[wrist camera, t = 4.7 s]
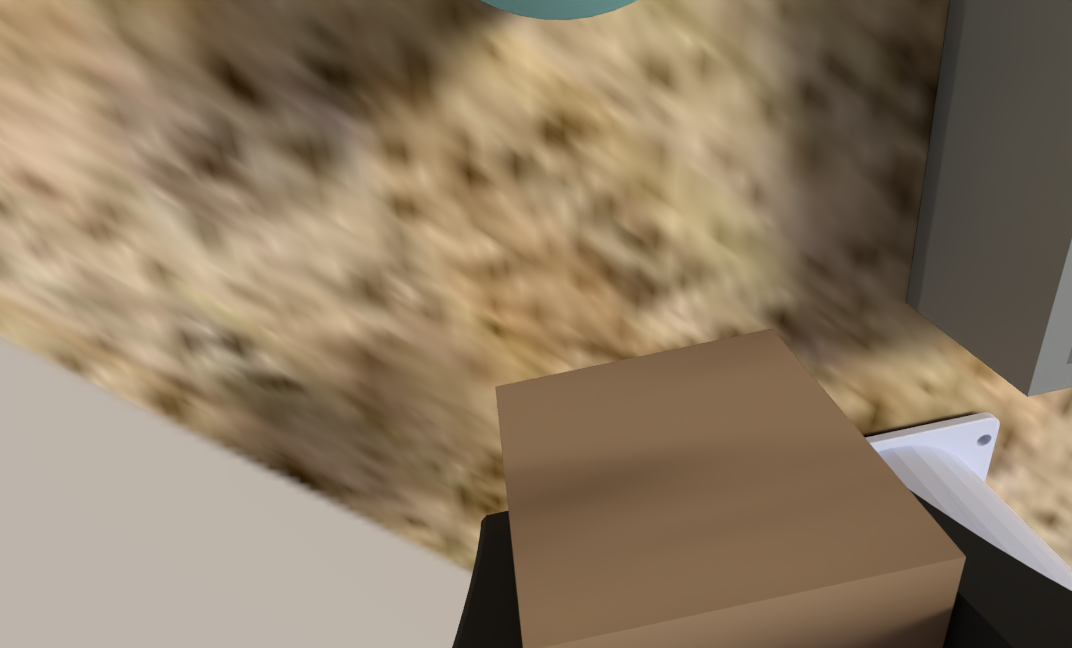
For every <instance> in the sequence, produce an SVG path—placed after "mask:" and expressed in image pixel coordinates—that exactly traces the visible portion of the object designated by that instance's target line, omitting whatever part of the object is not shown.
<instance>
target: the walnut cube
mask: <svg viewBox="0 0 1072 648" xmlns="http://www.w3.org/2000/svg"><path fill="white" fill-rule="evenodd" d="M496 396H497V406H498V415H499V425H500V434H501V444H502V453H503V463H504V472H505V482H506V491H507V501H508V510H509V520H510V529H511V539H512V548H513V558H514V567H515V577H516V586H517V596H518V605H519V615H520V624H521V634H522V643H523V648H943V644H944V640H945V636H946V632H947V629H948V625H949V621H950V617H951V613H952V609H953V605H954V602H955V598H956V594H957V590H958V586H959V582H960V578H961V575H962V571H963V567H964V563H965V559H966V556H965V555H964V554H963V553H962V551H961V550H960V549H959V548H958V547H957V546H956V544H955V543H954V542H953V541H952V540H951V539H950V537H949V536H948V535H947V534H946V533H945V531H944V530H943V529H942V528H941V527H940V526H939V524H938V523H937V522H936V521H935V520H934V519H933V517H932V516H931V515H930V514H929V513H928V511H927V510H926V509H925V508H924V507H923V506H922V504H921V503H920V502H919V501H918V500H917V499H916V497H915V496H914V495H913V494H912V493H911V491H910V490H909V489H908V488H907V487H906V486H905V484H904V483H903V482H902V481H901V480H900V479H899V477H898V476H897V475H896V474H895V473H894V471H893V470H892V469H891V468H890V467H889V466H888V464H887V463H886V462H885V461H884V460H883V459H882V457H881V456H880V455H879V454H878V453H877V451H876V450H875V449H874V448H873V447H872V446H871V444H870V443H869V442H868V441H867V440H866V439H865V437H864V436H863V435H862V434H861V433H860V431H859V430H858V429H857V428H856V427H855V426H854V424H853V423H852V422H851V421H850V420H849V419H848V417H847V416H846V415H845V414H844V413H843V411H842V410H841V409H840V408H839V407H838V406H837V404H836V403H835V402H834V401H833V400H832V399H831V397H830V396H829V395H828V394H827V393H826V391H825V390H824V389H823V388H822V387H821V386H820V384H819V383H818V382H817V381H816V380H815V379H814V377H813V376H812V375H811V374H810V373H809V371H808V370H807V369H806V368H805V367H804V366H803V364H802V363H801V362H800V361H799V360H798V359H797V357H796V356H795V355H794V354H793V353H792V351H791V350H790V349H789V348H788V347H787V346H786V344H785V343H784V342H783V341H782V340H781V339H780V337H779V336H778V335H777V334H776V333H775V331H774V330H773V329H769V330H764V331H759V332H755V333H750V334H745V335H740V336H736V337H731V338H726V339H721V340H716V341H712V342H707V343H702V344H697V345H693V346H688V347H683V348H678V349H673V350H669V351H664V352H659V353H654V354H650V355H645V356H640V357H635V358H630V359H626V360H621V361H616V362H611V363H607V364H602V365H597V366H592V367H587V368H583V369H578V370H573V371H568V372H564V373H559V374H554V375H549V376H544V377H540V378H535V379H530V380H525V381H521V382H516V383H511V384H506V385H501V386H497V387H496Z"/></svg>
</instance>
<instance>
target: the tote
mask: <svg viewBox="0 0 1072 648" xmlns="http://www.w3.org/2000/svg"><path fill="white" fill-rule="evenodd" d="M906 303H907V304H908V305H910V306H911V307H912V308H914V309H915V310H916V311H918V312H919V313H920V314H921V315H923V316H924V317H925V318H927V319H928V320H929V321H930V322H932V323H933V324H934V325H936V326H937V327H938V328H939V329H941V330H942V331H943V332H945V333H946V334H947V335H948V336H950V337H951V338H952V339H954V340H955V341H956V342H958V343H959V344H960V345H961V346H963V347H964V348H965V349H967V350H968V351H969V352H970V353H972V354H973V355H974V356H976V357H977V358H978V359H979V360H981V361H982V362H983V363H985V364H986V365H987V366H988V367H990V368H991V369H992V370H994V371H995V372H996V373H998V374H999V375H1000V376H1001V377H1003V378H1004V379H1005V380H1007V381H1008V382H1009V383H1010V384H1012V385H1013V386H1014V387H1016V388H1017V389H1018V390H1019V391H1021V392H1022V393H1023V394H1025V395H1026V396H1027V397H1028V396H1033V395H1038V394H1042V393H1047V392H1052V391H1057V390H1061V389H1066V388H1071V387H1072V0H950V5H949V12H948V19H947V26H946V33H945V40H944V47H943V54H942V61H941V67H940V74H939V81H938V88H937V95H936V102H935V109H934V116H933V123H932V129H931V136H930V143H929V150H928V157H927V164H926V171H925V178H924V185H923V191H922V198H921V205H920V212H919V219H918V226H917V233H916V240H915V247H914V253H913V260H912V267H911V274H910V281H909V288H908V295H907V302H906Z"/></svg>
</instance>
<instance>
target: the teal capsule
mask: <svg viewBox="0 0 1072 648" xmlns="http://www.w3.org/2000/svg"><path fill="white" fill-rule="evenodd" d="M481 1H483V2H485V3H487V4H489V5H491V6H493V7H496V8H498V9H501V10H504V11H507V12H511V13H514V14H517V15H520V16H526V17H532V18H538V19H545V20H571V19H579V18H586V17H593V16H596V15H600V14H603V13H607V12H611V11H614V10H617V9H619V8H621V7H623V6H626V5H628V4H630V3H633V2H635V1H637V0H481Z"/></svg>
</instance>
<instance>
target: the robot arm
mask: <svg viewBox="0 0 1072 648" xmlns="http://www.w3.org/2000/svg"><path fill="white" fill-rule="evenodd" d="M998 429H999V421H998V419H997V418H995V417H994V416H993V415H992V414H990V413H988V412H987V413H979V414H974V415H969V416H965V417H960V418H955V419H950V420H946V421H941V422H936V423H932V424H927V425H922V426H918V427H913V428H908V429H903V430H899V431H894V432H889V433H885V434H880V435H875V436H871V437H866V438H865V439H866V440H867V441H868V442H869V443H870V444H871V446H872V447H873V448H874V449H875V450H876V451H877V453H878V454H879V455H880V456H881V457H882V459H883V460H884V461H885V462H886V463H887V464H888V466H889V467H890V468H891V469H892V470H893V471H894V473H895V474H896V475H897V476H898V477H899V479H900V480H901V481H902V482H903V483H904V484H905V486H906V487H907V488H908V489H909V490H910V491H911V493H912V494H913V495H914V496H915V497H916V499H917V500H918V501H919V502H920V503H921V504H922V506H923V507H924V508H925V509H926V510H927V511H928V513H929V514H930V515H931V516H932V517H933V519H934V520H935V521H936V522H937V523H938V524H939V526H940V527H941V528H942V529H943V530H944V531H945V533H946V534H947V535H948V536H949V537H950V539H951V540H952V541H953V542H954V543H955V544H956V546H957V547H958V548H959V549H960V550H961V551H962V553H963V554H964V555H965V556H966V559H965V563H964V567H963V571H962V575H961V578H960V582H959V586H958V590H957V594H956V598H955V602H954V605H953V609H952V613H951V617H950V621H949V625H948V629H947V632H946V636H945V640H944V644H943V648H1072V569H1071V568H1070V567H1069V566H1068V565H1067V564H1066V563H1065V562H1064V561H1063V560H1062V559H1061V558H1060V557H1059V556H1058V555H1057V554H1056V553H1055V552H1054V551H1053V550H1052V549H1051V548H1050V547H1049V546H1048V545H1047V544H1046V543H1045V542H1044V541H1043V540H1042V539H1041V538H1040V537H1039V536H1038V535H1037V534H1036V533H1035V532H1034V531H1033V530H1032V529H1031V528H1030V527H1029V526H1028V525H1027V524H1026V523H1025V522H1024V521H1023V520H1022V519H1021V518H1020V517H1019V516H1018V515H1017V514H1016V513H1015V512H1014V511H1013V510H1012V509H1011V508H1010V507H1009V506H1008V505H1007V504H1006V503H1005V502H1004V501H1003V500H1002V499H1001V498H1000V497H999V496H998V495H997V494H996V493H995V492H994V491H993V490H992V489H991V488H990V487H989V486H988V485H987V484H986V483H985V479H986V475H987V472H988V468H989V464H990V460H991V456H992V452H993V449H994V445H995V441H996V437H997V433H998ZM452 648H523V643H522V634H521V624H520V615H519V605H518V596H517V586H516V577H515V567H514V558H513V548H512V539H511V529H510V520H509V511H505V512H500V513H495V514H491V515H486V517H485V518H484V519H483V520H482V521H481V530H480V538H479V544H478V550H477V555H476V560H475V565H474V570H473V574H472V578H471V583H470V587H469V591H468V595H467V598H466V602H465V606H464V610H463V613H462V616H461V620H460V624H459V627H458V631H457V634H456V637H455V641H454V644H453V647H452Z"/></svg>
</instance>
